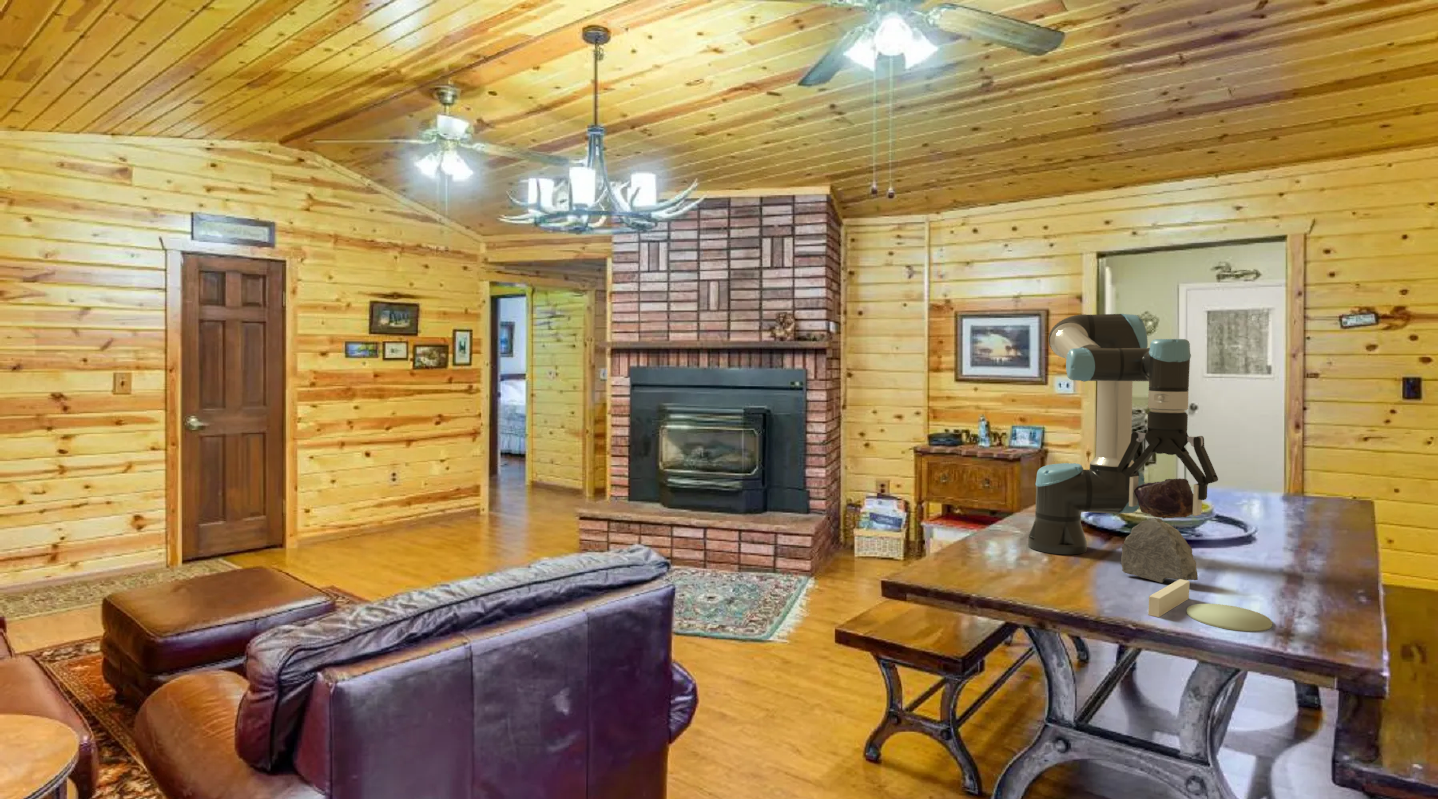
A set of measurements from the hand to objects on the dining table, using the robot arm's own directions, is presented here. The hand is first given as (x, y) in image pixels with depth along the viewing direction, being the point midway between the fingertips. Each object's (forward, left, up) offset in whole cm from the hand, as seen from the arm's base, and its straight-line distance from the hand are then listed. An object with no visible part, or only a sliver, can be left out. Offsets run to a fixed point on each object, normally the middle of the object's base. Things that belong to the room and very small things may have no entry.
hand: (1164, 510), depth 173 cm
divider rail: (+2, +1, -21) cm, 21 cm away
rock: (0, 0, -2) cm, 2 cm away
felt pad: (+13, +2, -21) cm, 25 cm away
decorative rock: (-7, +20, -21) cm, 30 cm away
